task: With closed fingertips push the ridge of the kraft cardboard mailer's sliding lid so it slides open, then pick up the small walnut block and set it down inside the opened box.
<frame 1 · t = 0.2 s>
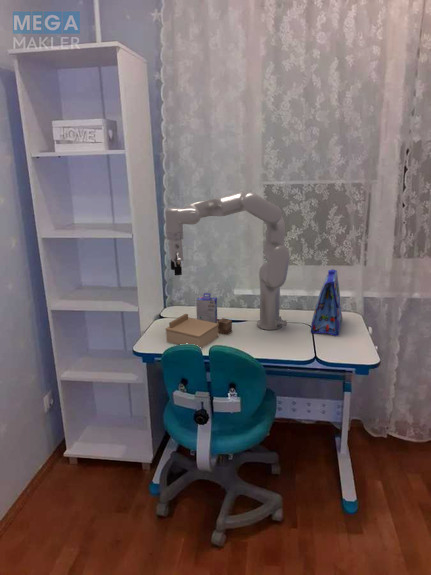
hand: (176, 272, 214), 30 cm above the table, tool pointing down, fingers open, 9 cm apart
walnut block: (224, 332, 223), on the table
lunch bag: (326, 327, 227), on the table
ink cartridge box: (207, 321, 237), on the table
lid: (192, 324, 214), point 7 cm above the table, slide at 0.0 cm
mailer box: (192, 339, 216), on the table
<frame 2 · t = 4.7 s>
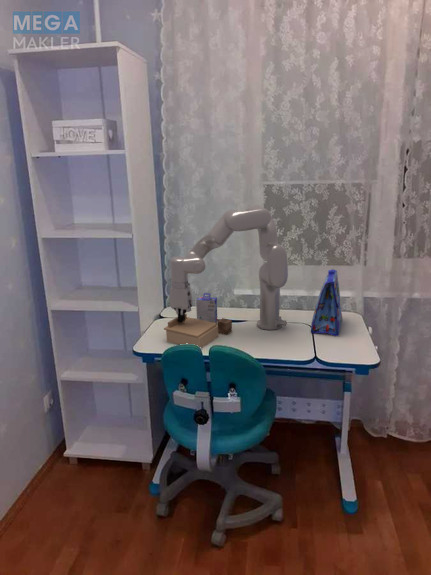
hand: (181, 321, 217), 8 cm above the table, tool pointing down, fingers closed
lid: (190, 324, 214), point 7 cm above the table, slide at 0.8 cm, touching gripper
everything else where it was.
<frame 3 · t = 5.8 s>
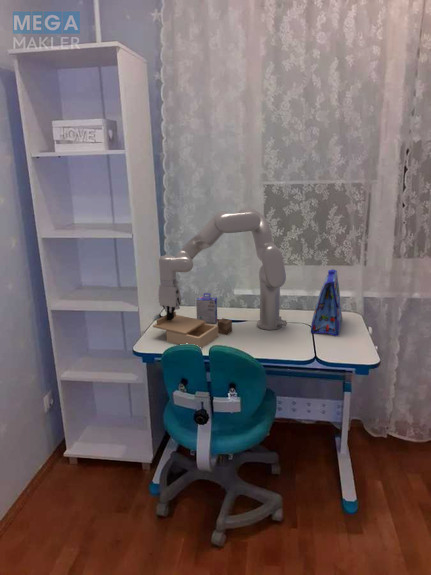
hand: (170, 319, 220), 8 cm above the table, tool pointing down, fingers closed
lid: (179, 321, 217), point 7 cm above the table, slide at 7.3 cm, touching gripper
everything else where it was.
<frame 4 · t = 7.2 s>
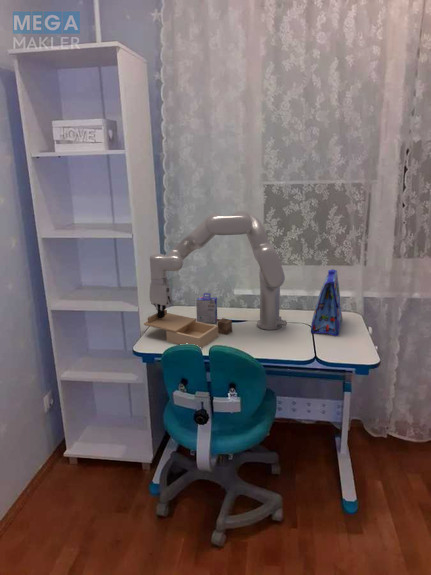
hand: (161, 317, 223), 8 cm above the table, tool pointing down, fingers closed
lid: (170, 319, 220), point 7 cm above the table, slide at 12.7 cm, touching gripper
everything else where it was.
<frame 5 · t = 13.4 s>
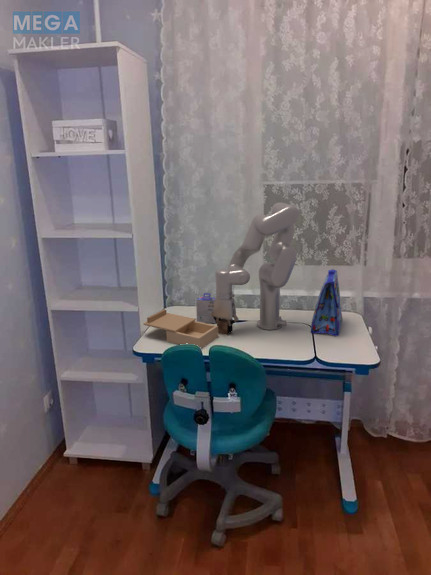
hand: (224, 330, 222), 1 cm above the table, tool pointing down, fingers closed on walnut block, 5 cm apart
walnut block: (224, 332, 223), on the table, touching gripper
lid: (169, 319, 220), point 7 cm above the table, slide at 12.9 cm
everything else where it was.
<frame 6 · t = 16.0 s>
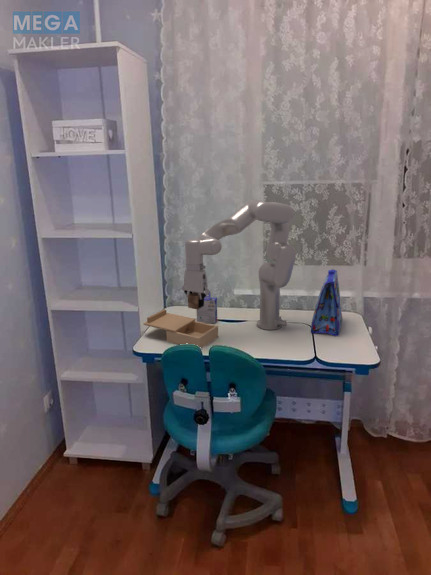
hand: (196, 305, 209), 17 cm above the table, tool pointing down, fingers closed on walnut block, 5 cm apart
walnut block: (196, 306, 210), point 16 cm above the table, touching gripper
everything else where it was.
when the fingers open (3 cm above the table, at t = 18.8 s): walnut block drops 2 cm, resting on mailer box.
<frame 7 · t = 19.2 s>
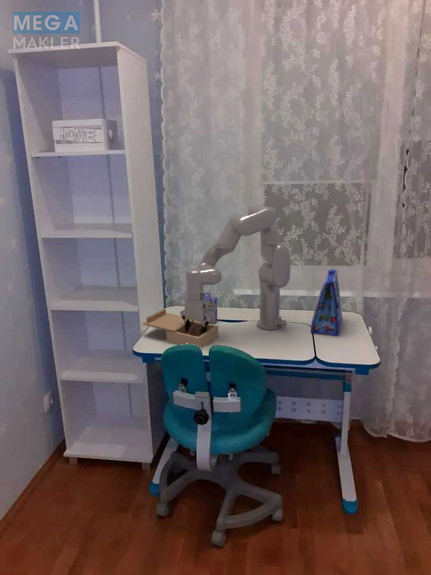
hand: (196, 331, 214), 4 cm above the table, tool pointing down, fingers open, 8 cm apart
walnut block: (197, 338, 214), point 1 cm above the table, touching mailer box
lid: (169, 319, 220), point 7 cm above the table, slide at 13.2 cm
everything else where it was.
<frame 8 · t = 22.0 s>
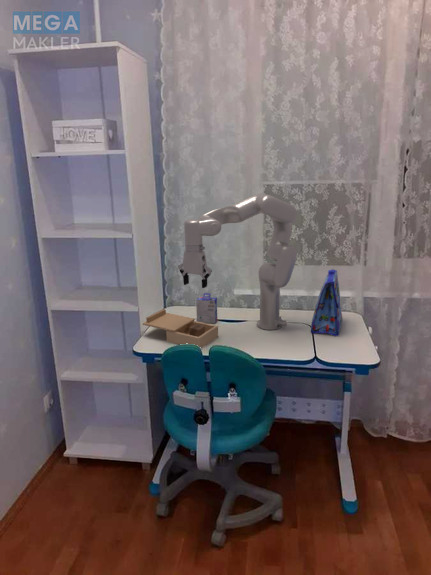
hand: (195, 285, 207), 26 cm above the table, tool pointing down, fingers open, 9 cm apart
nothing on the table moved.
at the end: lid slide at 13.4 cm; walnut block inside the target area on the mailer box (0.1 cm from its centre), point 0.6 cm above the mailer box's base; walnut block tilted 0° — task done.
